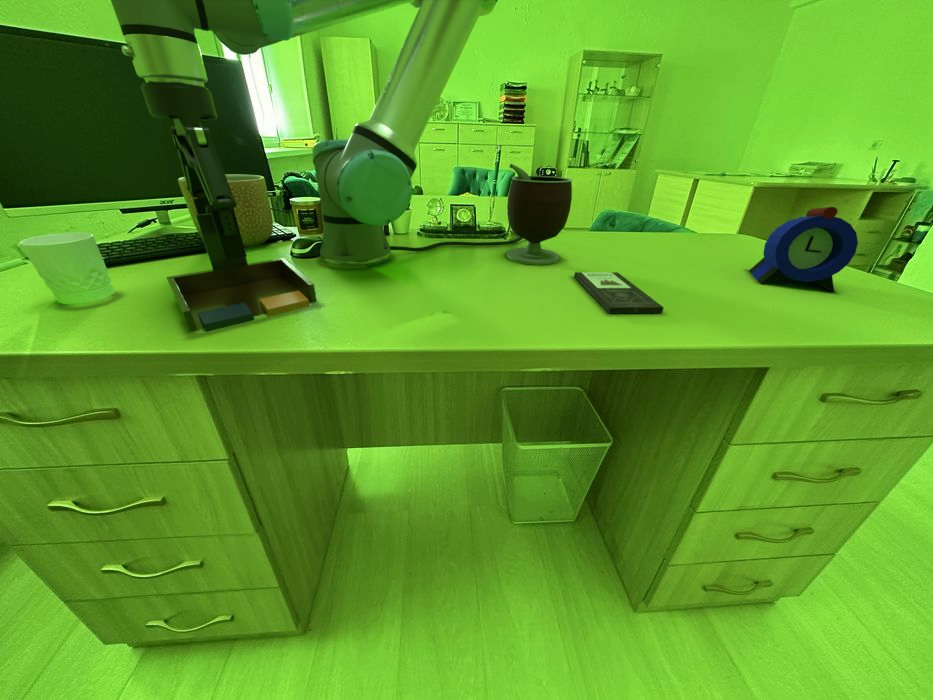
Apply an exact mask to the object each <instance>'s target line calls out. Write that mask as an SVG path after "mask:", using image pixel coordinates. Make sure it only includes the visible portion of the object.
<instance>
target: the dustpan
mask: <svg viewBox="0 0 933 700" xmlns="http://www.w3.org/2000/svg"><path fill="white" fill-rule="evenodd" d="M195 216H196V220H197V223H198V226H199V229H200V232H201V235H202V237H201V239H202V241H203V244H204V247H205V252H206V254H207V257H208V259H209V264H210V266H211V269H206V270H201V271H195V272H189V273H182V274H176V275H170V276H166V280H167V283H168V285H169V288H170V290H171V294H172V296H173V298H174V300H175V302H176V304H177V307H178V309H179V311H180V313H181V315H182V317H183V320H184V322H185V323H186V325H187V328H188V329H189V332H191V333H192V332H196V331H200V330H205V328H204V326H203V325H202V323H201V321H200V319H199V316H198V312H202V311H207V310H212V309H216V308H221V307H225V306H230V305H234V304H239V303H245V304H246V305H247V306H248V308H249V309H250V310H251V312H252V313H253V317H254V318H255V317H259V316H262V315H268V314H267V313H266V312H265V311H264V309H263V308H262V307H261V305H260V301H259V299H262V298H266V297H271V296H276V295H280V294H285V293H289V292H294V291H300V292H301V293H302V294H303V295H304V296H305V297H306V298H307V299H308V300H309V304H312V303H317V295H316V289H315V284H314V283H313V282H312V281H311V280H310V279H309V278H307V277H306V276H305V275H304V274H303V273H302V272H301V271H299V270H298V268H297V267H295V266H294V265H293V264H292V263H290V261H288V260H287V259H286V258H285V257H280V258H275V259H269V260H263V261H256V262H250V263H248V261H247V257H240V258H234V259H227V260H226V259H225V257H224V253H223V250H222V247H221V244H220V240H219V237H218V234H217V231H216V227H215V224H214V221H213V218H212V214H211V213H204V214H195Z"/></svg>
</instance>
